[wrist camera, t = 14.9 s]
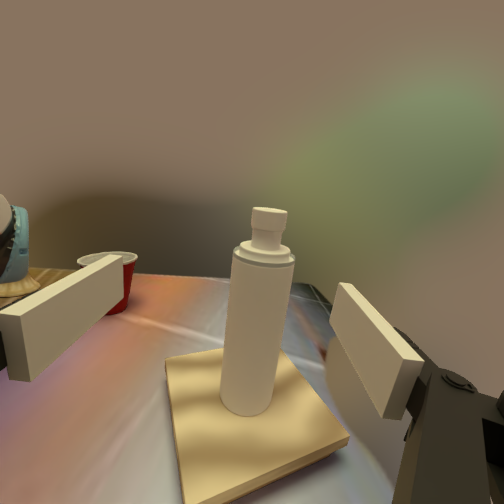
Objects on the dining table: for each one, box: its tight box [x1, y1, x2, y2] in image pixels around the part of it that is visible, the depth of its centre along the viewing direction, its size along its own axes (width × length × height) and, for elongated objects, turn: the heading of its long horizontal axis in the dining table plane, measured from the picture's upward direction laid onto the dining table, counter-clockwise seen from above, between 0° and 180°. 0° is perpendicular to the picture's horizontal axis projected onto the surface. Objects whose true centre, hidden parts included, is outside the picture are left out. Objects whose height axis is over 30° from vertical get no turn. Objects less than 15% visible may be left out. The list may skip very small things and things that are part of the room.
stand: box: [165, 348, 350, 504], centre depth 32 cm, size 18×18×4 cm
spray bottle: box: [220, 207, 295, 416], centre depth 28 cm, size 7×7×25 cm
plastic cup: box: [77, 252, 138, 315], centre depth 52 cm, size 11×11×12 cm
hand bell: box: [0, 271, 40, 297], centre depth 54 cm, size 8×8×16 cm
